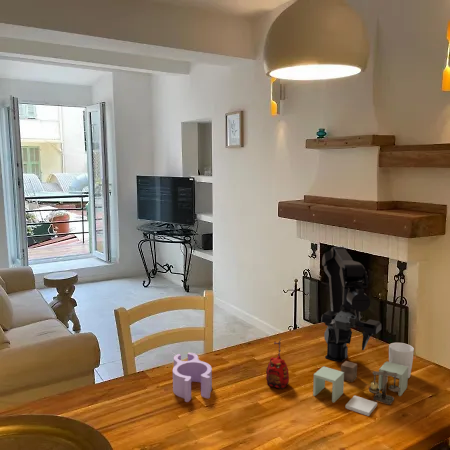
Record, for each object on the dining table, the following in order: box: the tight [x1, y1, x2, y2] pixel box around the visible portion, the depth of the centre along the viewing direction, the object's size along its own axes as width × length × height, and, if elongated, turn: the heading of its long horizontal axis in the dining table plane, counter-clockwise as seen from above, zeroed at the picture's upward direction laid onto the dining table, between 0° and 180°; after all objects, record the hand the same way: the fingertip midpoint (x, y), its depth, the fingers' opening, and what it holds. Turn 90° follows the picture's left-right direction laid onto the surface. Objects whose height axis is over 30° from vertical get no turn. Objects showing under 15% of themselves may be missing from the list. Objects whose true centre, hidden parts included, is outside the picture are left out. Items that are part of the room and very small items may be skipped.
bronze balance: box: [368, 371, 400, 406], centre depth 138 cm, size 9×4×10 cm, turn 53°
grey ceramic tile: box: [345, 395, 378, 417], centre depth 135 cm, size 7×7×1 cm
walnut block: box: [340, 360, 358, 383], centre depth 152 cm, size 4×4×5 cm
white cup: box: [388, 342, 415, 379], centre depth 154 cm, size 8×8×10 cm
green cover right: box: [378, 360, 409, 397], centre depth 145 cm, size 7×7×7 cm
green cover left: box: [312, 366, 345, 403], centre depth 142 cm, size 7×7×7 cm
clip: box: [172, 352, 213, 403], centre depth 148 cm, size 20×12×7 cm, turn 18°
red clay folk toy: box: [265, 337, 290, 390], centre depth 148 cm, size 8×7×15 cm
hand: (349, 346), depth 151 cm, fingers open, 9 cm apart
